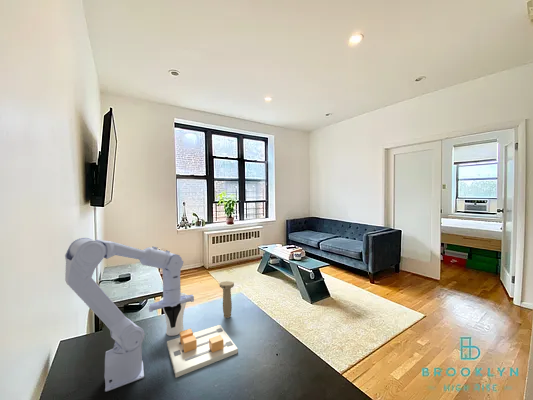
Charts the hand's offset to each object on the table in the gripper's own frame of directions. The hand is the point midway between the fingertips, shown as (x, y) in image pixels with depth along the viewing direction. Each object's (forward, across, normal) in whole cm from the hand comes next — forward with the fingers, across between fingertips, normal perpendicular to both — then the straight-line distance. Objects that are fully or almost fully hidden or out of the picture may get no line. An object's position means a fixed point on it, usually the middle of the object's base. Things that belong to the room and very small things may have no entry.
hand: (172, 326), depth 80 cm
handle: (+9, +24, +11) cm, 28 cm away
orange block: (+7, +12, -10) cm, 17 cm away
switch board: (+8, +8, -5) cm, 13 cm away
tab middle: (+7, +4, -5) cm, 9 cm away
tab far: (+7, +4, 0) cm, 8 cm away
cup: (+9, +2, +12) cm, 15 cm away
